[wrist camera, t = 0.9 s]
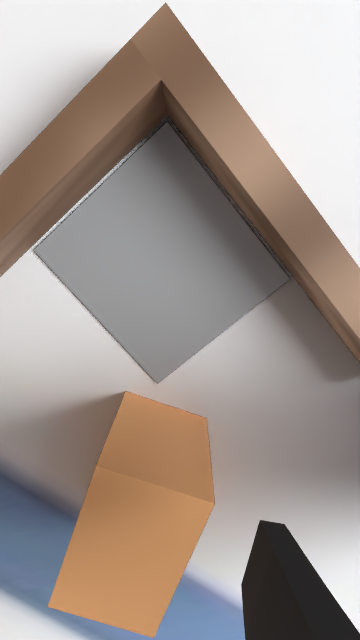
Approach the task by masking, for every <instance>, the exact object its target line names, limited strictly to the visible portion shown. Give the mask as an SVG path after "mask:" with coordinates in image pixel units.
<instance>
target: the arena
mask: <svg viewBox="0 0 360 640" xmlns="http://www.w3.org/2000/svg"><path fill="white" fill-rule="evenodd" d="M167 115H168V116H169V117H170V119H171V120H172V121H173V122H174V124H175V125H176V126H177V128H178V129H179V130H180V132H181V133H182V134H183V135H184V137H185V138H186V139H187V141H188V142H189V143H190V144H191V146H192V147H193V148H194V150H195V151H196V152H197V153H198V155H199V156H200V157H201V159H202V160H203V161H204V162H205V164H206V165H207V166H208V168H209V169H210V170H211V171H212V173H213V174H214V175H215V177H216V178H217V179H218V180H219V182H220V183H221V184H222V186H223V187H224V188H225V189H226V191H227V192H228V193H229V195H230V196H231V197H232V198H233V200H234V201H235V202H236V204H237V205H238V206H239V207H240V209H241V210H242V211H243V213H244V214H245V215H246V217H247V218H248V219H249V220H250V222H251V223H252V224H253V226H254V227H255V228H256V229H257V231H258V232H259V233H260V235H261V236H262V237H263V238H264V240H265V241H266V242H267V244H268V245H269V246H270V247H271V249H272V250H273V251H274V253H275V254H276V255H277V256H278V258H279V259H280V260H281V262H282V263H283V264H284V265H285V267H286V268H287V269H288V271H289V272H290V273H291V274H292V276H293V277H294V278H295V280H296V281H297V282H298V283H299V285H300V286H301V287H302V289H303V290H304V291H305V292H306V294H307V295H308V296H309V298H310V299H311V300H312V302H313V303H314V304H315V305H316V307H317V308H318V309H319V311H320V312H321V313H322V314H323V316H324V317H325V318H326V320H327V321H328V322H329V323H330V325H331V326H332V327H333V329H334V330H335V331H336V332H337V334H338V335H339V336H340V338H341V339H342V340H343V341H344V343H345V344H346V345H347V347H348V348H349V349H350V350H351V352H352V353H353V354H354V356H355V357H356V358H357V359H358V361H359V362H360V268H359V267H358V265H357V264H356V262H355V261H354V260H353V258H352V257H351V256H350V254H349V253H348V252H347V250H346V249H345V247H344V246H343V245H342V243H341V242H340V241H339V239H338V238H337V236H336V235H335V234H334V232H333V231H332V230H331V228H330V227H329V225H328V224H327V223H326V221H325V220H324V219H323V217H322V216H321V215H320V213H319V212H318V210H317V209H316V208H315V206H314V205H313V204H312V202H311V201H310V199H309V198H308V197H307V195H306V194H305V193H304V191H303V190H302V188H301V187H300V186H299V184H298V183H297V182H296V180H295V179H294V178H293V176H292V175H291V173H290V172H289V171H288V169H287V168H286V167H285V165H284V164H283V162H282V161H281V160H280V158H279V157H278V156H277V154H276V153H275V151H274V150H273V149H272V147H271V146H270V145H269V143H268V142H267V141H266V139H265V138H264V136H263V135H262V134H261V132H260V131H259V130H258V128H257V127H256V125H255V124H254V123H253V121H252V120H251V119H250V117H249V116H248V114H247V113H246V112H245V110H244V109H243V108H242V106H241V105H240V104H239V102H238V101H237V99H236V98H235V97H234V95H233V94H232V93H231V91H230V90H229V88H228V87H227V86H226V84H225V83H224V82H223V80H222V79H221V77H220V76H219V75H218V73H217V72H216V71H215V69H214V68H213V67H212V65H211V64H210V62H209V61H208V60H207V58H206V57H205V56H204V54H203V53H202V51H201V50H200V49H199V47H198V46H197V45H196V43H195V42H194V40H193V39H192V38H191V36H190V35H189V34H188V32H187V31H186V30H185V28H184V27H183V25H182V24H181V23H180V21H179V20H178V19H177V17H176V16H175V14H174V13H173V12H172V10H171V9H170V8H169V6H168V5H167V3H165V4H164V5H163V6H162V7H161V8H160V9H159V10H158V11H157V12H156V13H155V14H154V15H153V16H152V17H151V18H150V19H149V20H148V22H147V23H146V24H145V25H144V26H143V27H142V28H141V29H140V30H139V31H138V32H137V33H136V34H135V35H134V36H133V37H132V38H131V39H130V40H129V41H128V42H127V43H126V44H125V46H124V47H123V48H122V49H121V50H120V51H119V52H118V53H117V54H116V55H115V56H114V57H113V58H112V59H111V60H110V61H109V62H108V63H107V64H106V65H105V66H104V67H103V69H102V70H101V71H100V72H99V73H98V74H97V75H96V76H95V77H94V78H93V79H92V80H91V81H90V82H89V83H88V84H87V85H86V86H85V87H84V88H83V89H82V90H81V92H80V93H79V94H78V95H77V96H76V97H75V98H74V99H73V100H72V101H71V102H70V103H69V104H68V105H67V106H66V107H65V108H64V109H63V110H62V111H61V112H60V113H59V115H58V116H57V117H56V118H55V119H54V120H53V121H52V122H51V123H50V124H49V125H48V126H47V127H46V128H45V129H44V130H43V131H42V132H41V133H40V134H39V135H38V136H37V138H36V139H35V140H34V141H33V142H32V143H31V144H30V145H29V146H28V147H27V148H26V149H25V150H24V151H23V152H22V153H21V154H20V155H19V156H18V157H17V158H16V159H15V160H14V162H13V163H12V164H11V165H10V166H9V167H8V168H7V169H6V170H5V171H4V172H3V173H2V174H1V175H0V277H1V276H2V275H3V274H4V273H5V272H6V271H7V270H8V269H9V268H10V267H11V266H12V265H13V264H14V263H15V262H16V261H17V260H18V259H19V258H20V257H21V256H22V255H23V254H24V253H26V252H27V251H28V250H29V249H30V248H31V247H32V246H33V245H34V244H35V243H36V242H37V241H38V240H39V239H40V238H41V237H42V236H43V235H44V234H45V233H46V232H47V231H48V230H49V229H50V228H51V227H52V226H53V225H54V224H56V223H57V222H58V221H59V220H60V219H61V218H62V217H63V216H64V215H65V214H66V213H67V212H68V211H69V210H70V209H71V208H72V207H73V206H74V205H75V204H76V203H77V202H78V201H79V200H80V199H81V198H82V197H83V196H84V195H86V194H87V193H88V192H89V191H90V190H91V189H92V188H93V187H94V186H95V185H96V184H97V183H98V182H99V181H100V180H101V179H102V178H103V177H104V176H105V175H106V174H107V173H108V172H109V171H110V170H111V169H112V168H113V167H114V166H115V165H117V164H118V163H119V162H120V161H121V160H122V159H123V158H124V157H125V156H126V155H127V154H128V153H129V152H130V151H131V150H132V149H133V148H134V147H135V146H136V145H137V144H138V143H139V142H140V141H141V140H142V139H143V138H144V137H145V136H147V135H148V134H149V133H150V132H151V131H152V130H153V129H154V128H155V127H156V126H157V125H158V124H159V123H160V122H161V121H162V120H163V119H164V118H165V117H166V116H167Z"/></svg>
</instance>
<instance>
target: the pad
mask: <svg viewBox="0 0 360 640" xmlns="http://www.w3.org/2000/svg"><path fill="white" fill-rule="evenodd" d="M34 251H35V253H36V254H37V255H38V256H39V257H40V258H41V259H42V260H43V261H44V262H45V263H46V264H47V265H48V267H49V268H50V269H51V270H52V271H53V272H54V273H55V274H56V275H57V276H58V277H59V278H60V279H61V281H62V282H63V283H64V284H65V285H66V286H67V287H68V288H69V289H70V290H71V291H72V292H73V293H74V295H75V296H76V297H77V298H78V299H79V300H80V301H81V302H82V303H83V304H84V305H85V306H86V307H87V309H88V310H89V311H90V312H91V313H92V314H93V315H94V316H95V317H96V318H97V319H98V320H99V322H100V323H101V324H102V325H103V326H104V327H105V328H106V329H107V330H108V331H109V332H110V333H111V334H112V336H113V337H114V338H115V339H116V340H117V341H118V342H119V343H120V344H121V345H122V346H123V347H124V348H125V350H126V351H127V352H128V353H129V354H130V355H131V356H132V357H133V358H134V359H135V360H136V361H137V362H138V364H139V365H140V366H141V367H142V368H143V369H144V370H145V371H146V372H147V373H148V374H149V375H150V376H151V378H152V379H153V380H154V381H155V382H156V383H157V384H158V383H159V382H160V381H162V380H163V379H164V378H165V377H167V376H168V375H169V374H170V373H172V372H173V371H174V370H176V369H177V368H178V367H179V366H181V365H182V364H183V363H184V362H186V361H187V360H188V359H189V358H191V357H192V356H193V355H195V354H196V353H197V352H198V351H200V350H201V349H202V348H203V347H205V346H206V345H207V344H208V343H210V342H211V341H212V340H214V339H215V338H216V337H217V336H219V335H220V334H221V333H222V332H224V331H225V330H226V329H227V328H229V327H230V326H231V325H233V324H234V323H235V322H236V321H238V320H239V319H240V318H241V317H243V316H244V315H245V314H246V313H248V312H249V311H250V310H252V309H253V308H254V307H255V306H257V305H258V304H259V303H260V302H262V301H263V300H264V299H265V298H267V297H268V296H269V295H271V294H272V293H273V292H274V291H276V290H277V289H278V288H279V287H281V286H282V285H283V284H284V283H286V282H287V281H288V280H290V279H289V277H288V276H287V275H286V273H285V272H284V271H283V270H282V268H281V267H280V266H279V264H278V263H277V262H276V261H275V259H274V258H273V257H272V256H271V254H270V253H269V252H268V250H267V249H266V248H265V247H264V245H263V244H262V243H261V241H260V240H259V239H258V238H257V236H256V235H255V234H254V232H253V231H252V230H251V229H250V227H249V226H248V225H247V223H246V222H245V221H244V220H243V218H242V217H241V216H240V214H239V213H238V212H237V211H236V209H235V208H234V207H233V206H232V204H231V203H230V202H229V200H228V199H227V198H226V197H225V195H224V194H223V193H222V191H221V190H220V189H219V188H218V186H217V185H216V184H215V182H214V181H213V180H212V179H211V177H210V176H209V175H208V173H207V172H206V171H205V170H204V168H203V167H202V166H201V164H200V163H199V162H198V161H197V159H196V158H195V157H194V155H193V154H192V153H191V152H190V150H189V149H188V148H187V147H186V145H185V144H184V143H183V141H182V140H181V139H180V138H179V136H178V135H177V134H176V132H175V131H174V130H173V129H172V127H171V126H170V125H169V123H168V122H166V123H165V124H164V125H163V126H162V127H161V128H160V129H159V130H158V131H157V132H156V133H155V134H154V135H153V136H152V137H151V138H150V139H149V140H147V141H146V142H145V143H144V144H143V145H142V146H141V147H140V148H139V149H138V150H137V151H136V152H135V153H134V154H133V155H132V156H131V157H130V158H129V159H128V160H127V161H126V162H125V163H124V164H123V165H122V166H120V167H119V168H118V169H117V170H116V171H115V172H114V173H113V174H112V175H111V176H110V177H109V178H108V179H107V180H106V181H105V182H104V183H103V184H102V185H101V186H100V187H99V188H98V189H97V190H96V191H95V192H93V193H92V194H91V195H90V196H89V197H88V198H87V199H86V200H85V201H84V202H83V203H82V204H81V205H80V206H79V207H78V208H77V209H76V210H75V211H74V212H73V213H72V214H71V215H70V216H69V217H68V218H66V219H65V220H64V221H63V222H62V223H61V224H60V225H59V226H58V227H57V228H56V229H55V230H54V231H53V232H52V233H51V234H50V235H49V236H48V237H47V238H46V239H45V240H44V241H43V242H42V243H41V244H39V245H38V246H37V247H36V248H35V249H34Z"/></svg>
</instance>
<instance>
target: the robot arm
mask: <svg viewBox="0 0 360 640" xmlns="http://www.w3.org/2000/svg"><path fill="white" fill-rule="evenodd" d="M242 600H243V615H244V627H245V639H246V640H360V633H359V632H358V631H357V629H356V628H355V626H354V625H353V623H352V622H351V621H350V619H349V618H348V616H347V615H346V614H345V612H344V611H343V609H342V608H341V607H340V605H339V604H338V602H337V601H336V600H335V598H334V597H333V595H332V594H331V592H330V591H329V589H328V588H327V587H326V585H325V584H324V582H323V581H322V579H321V578H320V576H319V575H318V573H317V572H316V570H315V569H314V567H313V566H312V564H311V563H310V561H309V560H308V558H307V557H306V556H305V554H304V553H303V551H302V550H301V548H300V547H299V545H298V544H297V542H296V541H295V539H294V538H293V536H292V535H291V533H290V532H289V530H288V529H287V527H286V526H285V524H280V523H274V522H268V521H262V520H260V522H259V525H258V529H257V532H256V536H255V539H254V543H253V546H252V550H251V553H250V557H249V560H248V564H247V567H246V571H245V574H244V578H243V581H242Z"/></svg>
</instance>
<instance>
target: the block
mask: <svg viewBox="0 0 360 640" xmlns="http://www.w3.org/2000/svg"><path fill="white" fill-rule="evenodd" d="M214 505H215V499H214V489H213V478H212V467H211V457H210V446H209V436H208V425H207V418H204V417H201V416H198V415H195V414H192V413H189V412H186V411H183V410H180V409H177V408H174V407H171V406H168V405H165V404H163V403H160V402H157V401H154V400H151V399H148V398H145V397H142V396H139V395H136V394H133V393H130V392H127V391H126V392H125V394H124V397H123V399H122V402H121V404H120V407H119V409H118V412H117V414H116V417H115V419H114V422H113V424H112V427H111V429H110V432H109V434H108V437H107V439H106V442H105V444H104V447H103V449H102V452H101V454H100V457H99V459H98V462H97V464H96V467H95V470H94V473H93V476H92V478H91V481H90V484H89V487H88V490H87V493H86V496H85V499H84V502H83V505H82V508H81V511H80V514H79V517H78V520H77V523H76V525H75V528H74V531H73V534H72V537H71V540H70V543H69V546H68V549H67V552H66V555H65V558H64V561H63V564H62V567H61V569H60V572H59V575H58V578H57V581H56V584H55V587H54V590H53V593H52V596H51V599H50V602H49V605H48V607H50V608H54V609H57V610H61V611H64V612H67V613H71V614H74V615H78V616H81V617H84V618H88V619H91V620H95V621H98V622H101V623H105V624H108V625H112V626H115V627H119V628H122V629H125V630H129V631H132V632H136V633H139V634H142V635H146V636H149V637H153V638H154V636H155V634H156V632H157V629H158V627H159V625H160V623H161V621H162V618H163V616H164V614H165V612H166V610H167V608H168V605H169V603H170V601H171V599H172V597H173V594H174V592H175V590H176V588H177V586H178V583H179V581H180V579H181V577H182V575H183V573H184V570H185V568H186V566H187V564H188V562H189V559H190V557H191V555H192V553H193V551H194V548H195V546H196V544H197V542H198V540H199V538H200V535H201V533H202V531H203V529H204V527H205V524H206V522H207V520H208V518H209V516H210V513H211V511H212V509H213V507H214Z"/></svg>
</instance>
